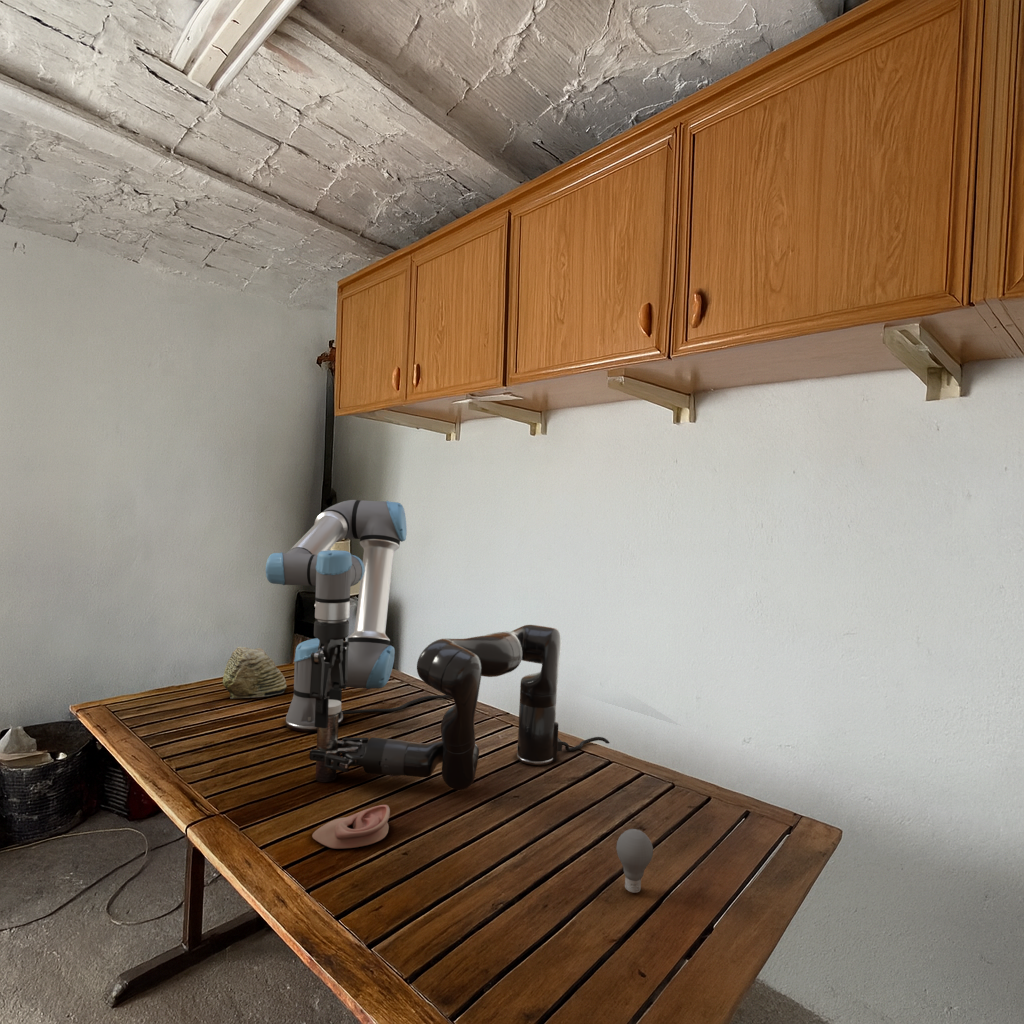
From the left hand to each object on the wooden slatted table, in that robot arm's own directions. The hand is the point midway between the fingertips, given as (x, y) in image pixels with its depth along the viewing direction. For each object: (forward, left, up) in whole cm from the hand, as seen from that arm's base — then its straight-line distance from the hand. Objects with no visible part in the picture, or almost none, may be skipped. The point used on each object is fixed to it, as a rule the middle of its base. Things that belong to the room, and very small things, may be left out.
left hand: (328, 722), depth 142 cm
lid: (0, 0, +4) cm, 4 cm away
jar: (0, 0, -13) cm, 13 cm away
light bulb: (-10, +72, -13) cm, 73 cm away
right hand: (+1, -2, -7) cm, 7 cm away
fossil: (-19, -65, -13) cm, 69 cm away
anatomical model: (+11, +24, -13) cm, 29 cm away
